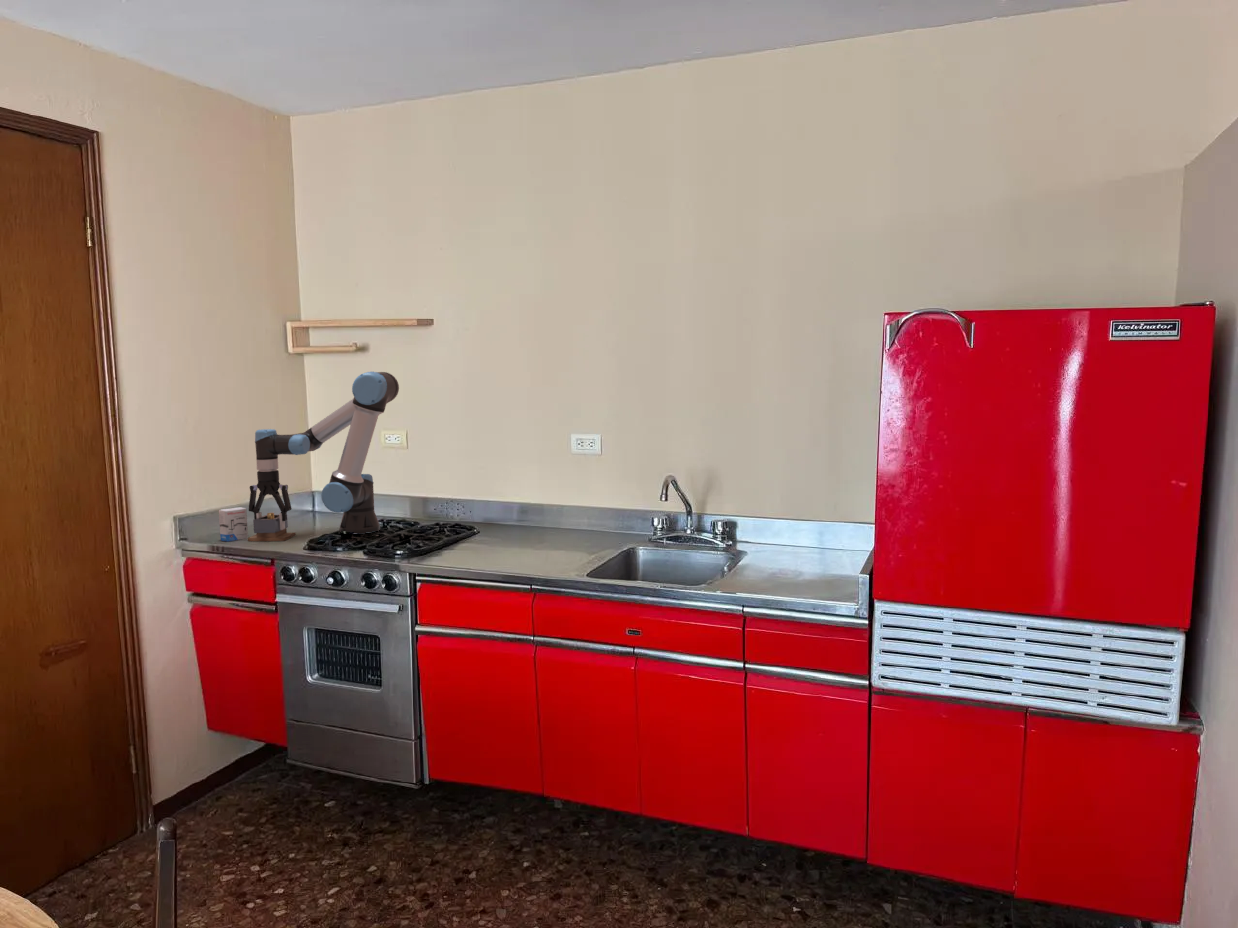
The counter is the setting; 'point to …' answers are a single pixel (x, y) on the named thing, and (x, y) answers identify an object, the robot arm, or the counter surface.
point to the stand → (272, 536)
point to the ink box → (233, 524)
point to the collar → (267, 524)
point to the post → (270, 515)
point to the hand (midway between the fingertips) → (271, 529)
